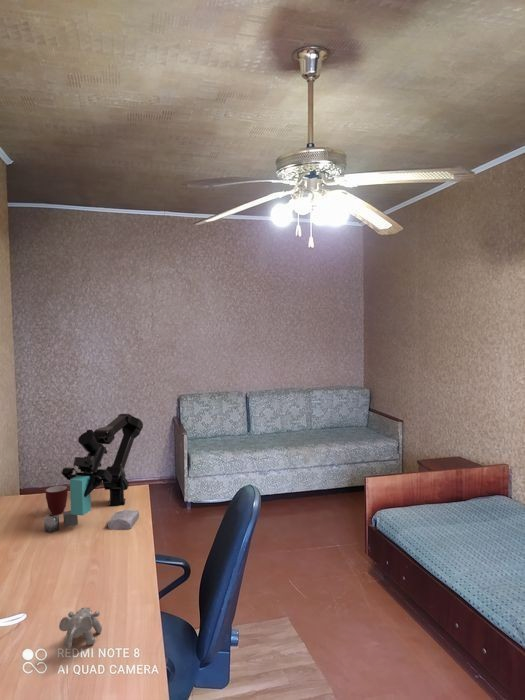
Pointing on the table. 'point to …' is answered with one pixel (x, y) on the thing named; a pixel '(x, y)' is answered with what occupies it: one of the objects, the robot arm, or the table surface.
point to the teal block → (79, 495)
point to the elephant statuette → (80, 626)
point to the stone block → (123, 519)
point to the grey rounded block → (51, 523)
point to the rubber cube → (70, 519)
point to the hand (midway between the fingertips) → (78, 495)
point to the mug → (56, 499)
